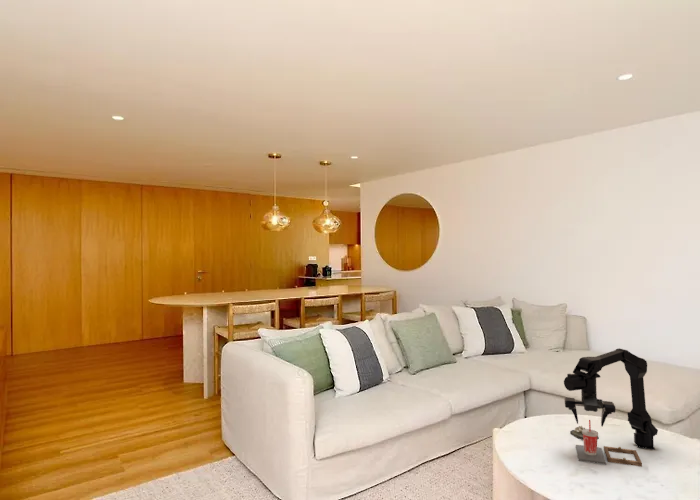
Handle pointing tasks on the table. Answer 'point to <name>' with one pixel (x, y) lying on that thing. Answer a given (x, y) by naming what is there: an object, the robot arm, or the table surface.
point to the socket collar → (623, 461)
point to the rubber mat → (585, 457)
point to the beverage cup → (590, 440)
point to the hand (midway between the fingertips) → (589, 424)
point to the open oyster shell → (578, 432)
